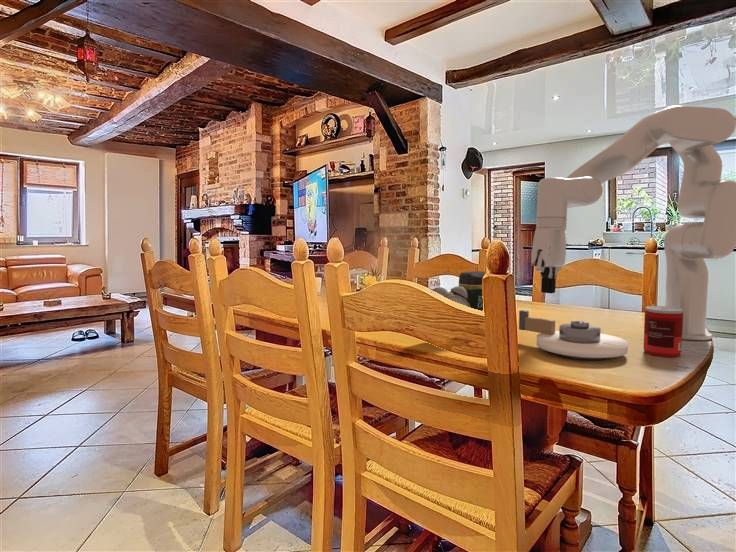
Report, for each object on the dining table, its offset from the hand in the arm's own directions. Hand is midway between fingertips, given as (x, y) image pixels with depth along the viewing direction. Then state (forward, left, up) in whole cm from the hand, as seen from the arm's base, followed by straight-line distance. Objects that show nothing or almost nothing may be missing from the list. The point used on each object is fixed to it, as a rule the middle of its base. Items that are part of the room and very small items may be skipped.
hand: (548, 292), depth 122 cm
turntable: (+7, +9, -12) cm, 16 cm away
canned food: (-7, +25, -13) cm, 30 cm away
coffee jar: (+9, -18, -13) cm, 24 cm away
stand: (+7, +12, -13) cm, 19 cm away
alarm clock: (+21, -18, -13) cm, 30 cm away
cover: (+7, +12, -10) cm, 17 cm away
